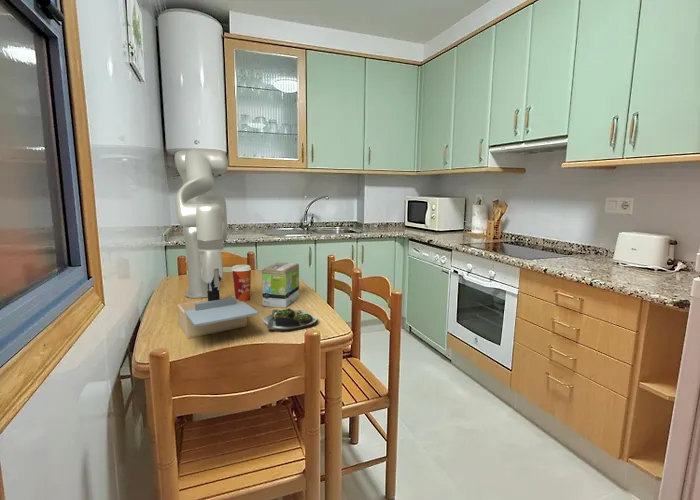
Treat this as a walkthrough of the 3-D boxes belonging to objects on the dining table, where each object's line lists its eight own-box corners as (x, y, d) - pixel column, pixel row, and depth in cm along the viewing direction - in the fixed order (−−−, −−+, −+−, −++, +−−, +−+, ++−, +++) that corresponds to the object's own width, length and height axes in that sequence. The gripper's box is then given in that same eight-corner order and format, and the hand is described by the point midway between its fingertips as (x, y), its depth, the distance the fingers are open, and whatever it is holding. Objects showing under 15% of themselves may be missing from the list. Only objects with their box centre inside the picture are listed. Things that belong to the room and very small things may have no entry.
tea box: (286, 308, 140) (285, 270, 138) (262, 306, 142) (260, 268, 140) (299, 297, 155) (299, 262, 153) (277, 295, 157) (276, 261, 155)
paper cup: (242, 303, 146) (240, 268, 143) (229, 300, 150) (227, 266, 147) (257, 299, 152) (255, 265, 150) (243, 296, 156) (242, 263, 154)
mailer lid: (184, 312, 112) (183, 304, 112) (242, 302, 123) (242, 295, 122) (194, 326, 101) (194, 317, 101) (258, 314, 111) (258, 305, 111)
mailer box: (178, 324, 123) (177, 304, 122) (233, 314, 133) (232, 295, 132) (187, 338, 111) (186, 316, 110) (246, 326, 121) (245, 305, 120)
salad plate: (252, 318, 130) (251, 306, 129) (299, 310, 139) (299, 298, 138) (271, 337, 113) (270, 322, 113) (323, 326, 123) (323, 312, 122)
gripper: (192, 243, 119) (196, 298, 122) (203, 249, 107) (207, 310, 110) (216, 241, 123) (219, 295, 126) (230, 247, 111) (233, 306, 114)
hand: (213, 302), depth 118 cm, fingers closed
